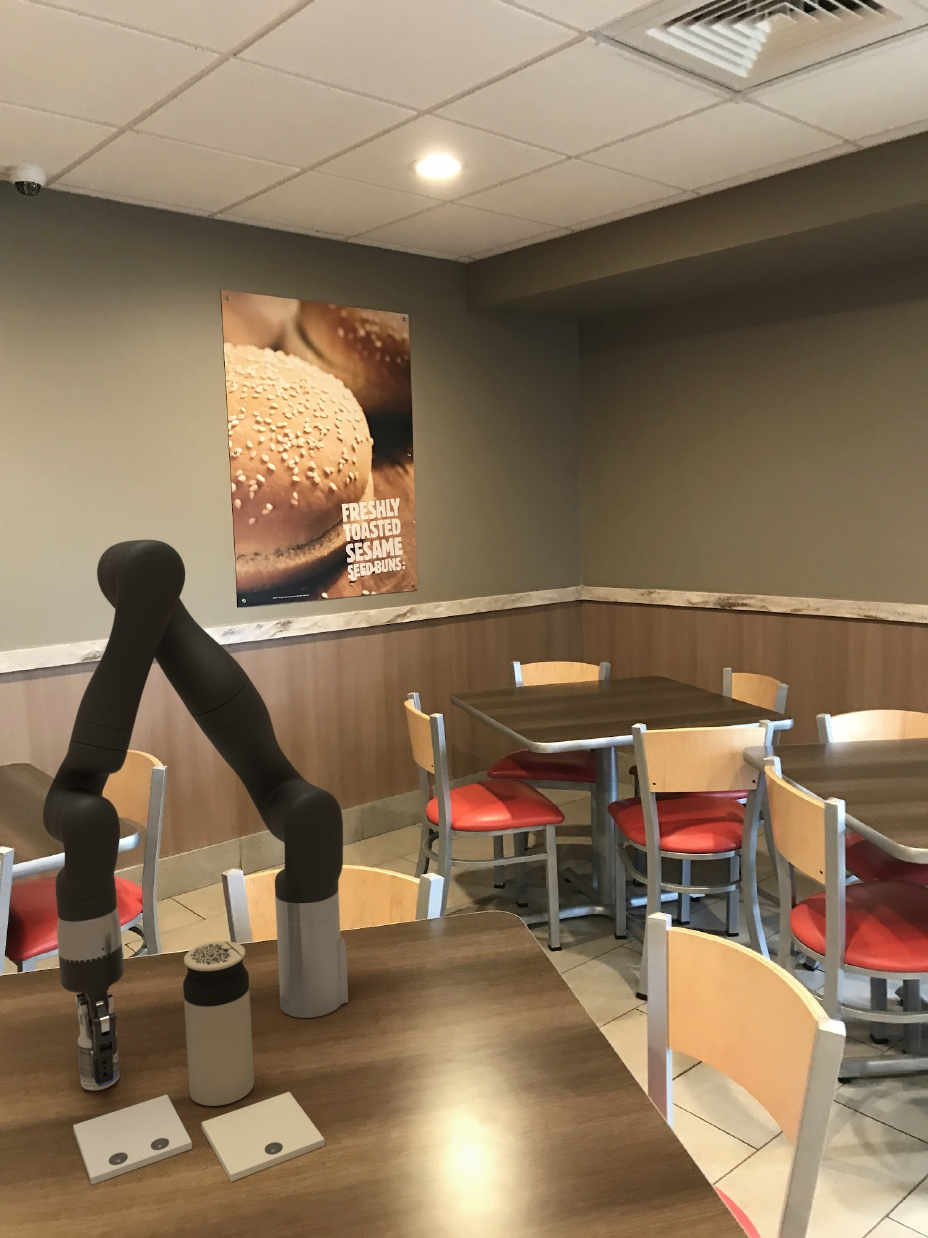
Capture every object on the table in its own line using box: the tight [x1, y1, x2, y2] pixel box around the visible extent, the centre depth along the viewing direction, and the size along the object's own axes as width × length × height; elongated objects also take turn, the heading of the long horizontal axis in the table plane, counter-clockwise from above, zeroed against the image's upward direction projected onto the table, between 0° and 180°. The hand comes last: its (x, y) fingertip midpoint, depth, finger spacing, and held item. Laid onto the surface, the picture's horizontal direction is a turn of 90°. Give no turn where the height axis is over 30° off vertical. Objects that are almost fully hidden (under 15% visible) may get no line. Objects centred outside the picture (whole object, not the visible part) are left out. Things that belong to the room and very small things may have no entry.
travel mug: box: [182, 940, 255, 1107], centre depth 121 cm, size 8×8×18 cm
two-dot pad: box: [72, 1094, 193, 1186], centre depth 112 cm, size 11×11×1 cm
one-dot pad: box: [201, 1091, 325, 1183], centre depth 112 cm, size 11×11×1 cm
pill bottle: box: [77, 1018, 121, 1091], centre depth 123 cm, size 5×5×8 cm
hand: (99, 1070), depth 124 cm, fingers closed on pill bottle, 4 cm apart
